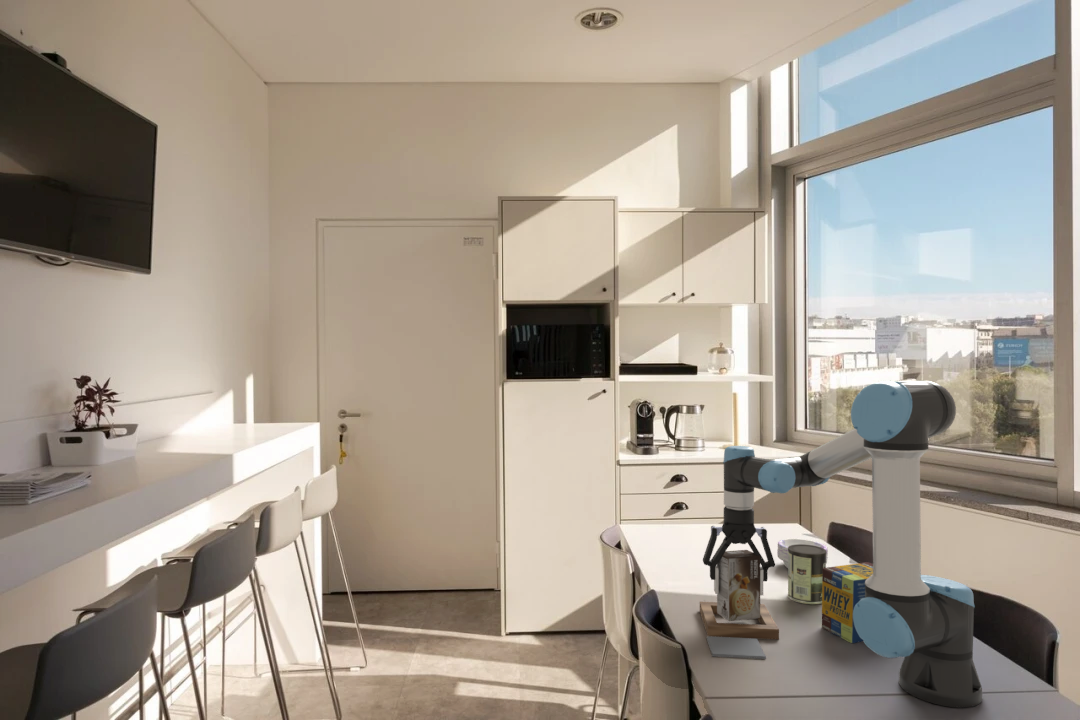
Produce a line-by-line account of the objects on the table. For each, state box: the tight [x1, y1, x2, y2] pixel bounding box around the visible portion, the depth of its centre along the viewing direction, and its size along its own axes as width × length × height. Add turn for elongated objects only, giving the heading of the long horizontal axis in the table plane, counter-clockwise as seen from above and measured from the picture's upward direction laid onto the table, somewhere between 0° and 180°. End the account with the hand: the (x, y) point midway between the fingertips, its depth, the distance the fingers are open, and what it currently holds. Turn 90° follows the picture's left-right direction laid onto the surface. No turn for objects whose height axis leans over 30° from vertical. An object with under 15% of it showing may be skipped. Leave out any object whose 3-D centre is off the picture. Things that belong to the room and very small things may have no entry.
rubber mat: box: [706, 635, 767, 660], centre depth 169 cm, size 10×12×1 cm
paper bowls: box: [777, 537, 829, 569], centre depth 230 cm, size 15×15×8 cm
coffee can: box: [787, 544, 827, 605], centre depth 203 cm, size 10×10×14 cm
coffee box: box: [716, 549, 761, 622], centre depth 183 cm, size 9×6×16 cm
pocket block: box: [699, 601, 780, 640], centre depth 183 cm, size 17×17×2 cm
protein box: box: [821, 561, 873, 644], centre depth 179 cm, size 10×15×16 cm
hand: (738, 592), depth 183 cm, fingers closed on coffee box, 10 cm apart
